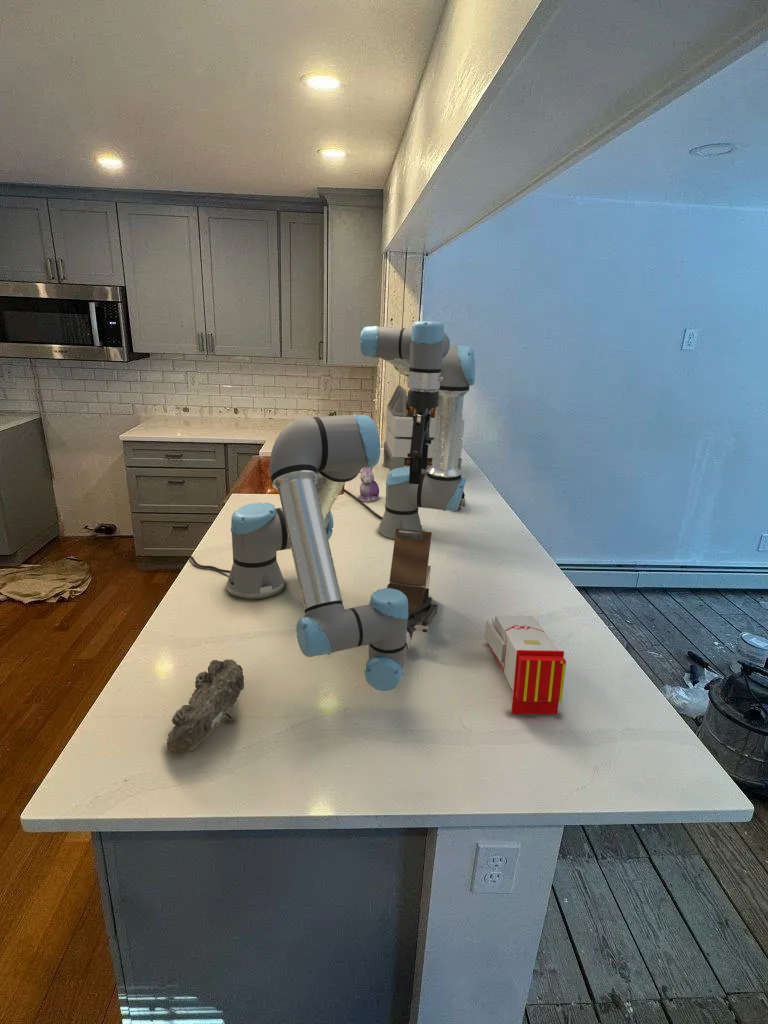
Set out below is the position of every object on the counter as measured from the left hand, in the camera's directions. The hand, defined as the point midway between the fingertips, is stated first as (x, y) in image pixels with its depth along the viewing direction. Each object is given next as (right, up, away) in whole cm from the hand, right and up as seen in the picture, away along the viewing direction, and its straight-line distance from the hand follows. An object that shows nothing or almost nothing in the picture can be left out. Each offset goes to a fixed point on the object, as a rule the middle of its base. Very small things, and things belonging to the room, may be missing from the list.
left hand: (408, 590), depth 146 cm
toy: (+23, -15, -21) cm, 35 cm away
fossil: (-39, -19, -38) cm, 58 cm away
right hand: (+2, +29, -5) cm, 30 cm away
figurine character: (+22, +22, +84) cm, 90 cm away
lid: (+1, +9, -3) cm, 9 cm away
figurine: (-13, +26, +89) cm, 93 cm away
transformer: (+11, +39, +129) cm, 135 cm away
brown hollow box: (0, -5, +5) cm, 7 cm away
